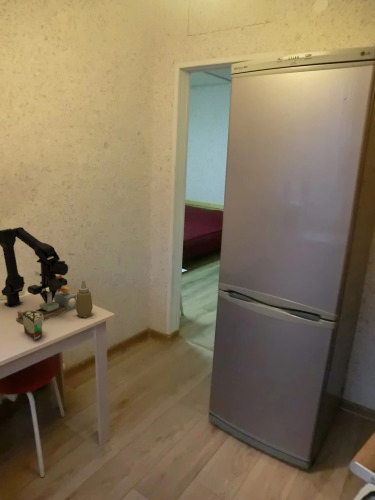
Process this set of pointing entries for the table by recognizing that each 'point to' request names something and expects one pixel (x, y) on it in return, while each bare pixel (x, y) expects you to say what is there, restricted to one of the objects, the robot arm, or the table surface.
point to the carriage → (49, 303)
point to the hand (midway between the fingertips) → (49, 301)
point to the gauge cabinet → (66, 300)
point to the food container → (33, 324)
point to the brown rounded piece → (64, 290)
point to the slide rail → (44, 312)
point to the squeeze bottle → (84, 301)
